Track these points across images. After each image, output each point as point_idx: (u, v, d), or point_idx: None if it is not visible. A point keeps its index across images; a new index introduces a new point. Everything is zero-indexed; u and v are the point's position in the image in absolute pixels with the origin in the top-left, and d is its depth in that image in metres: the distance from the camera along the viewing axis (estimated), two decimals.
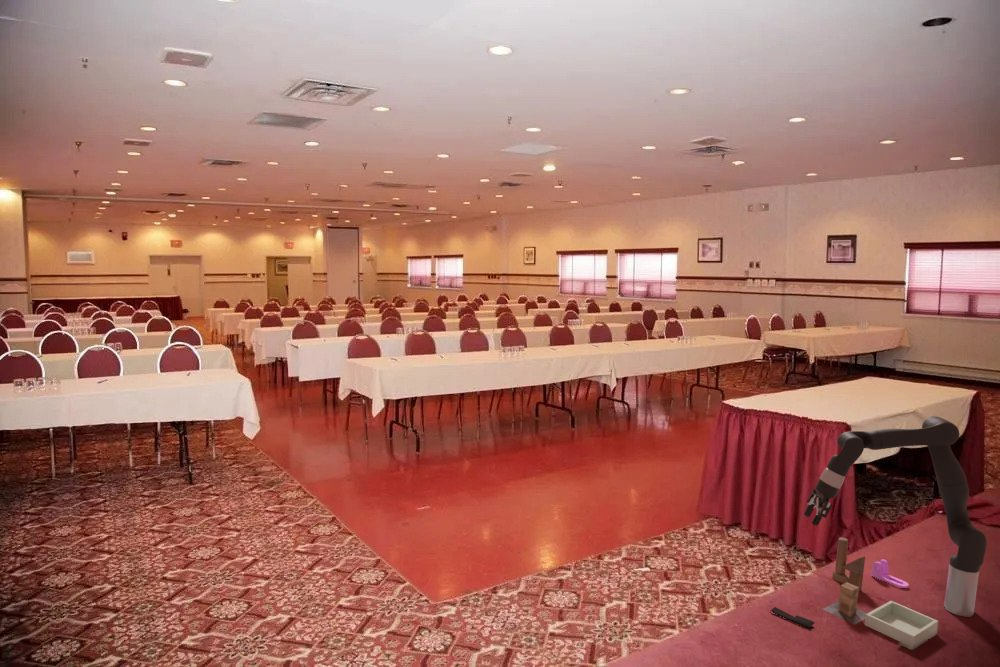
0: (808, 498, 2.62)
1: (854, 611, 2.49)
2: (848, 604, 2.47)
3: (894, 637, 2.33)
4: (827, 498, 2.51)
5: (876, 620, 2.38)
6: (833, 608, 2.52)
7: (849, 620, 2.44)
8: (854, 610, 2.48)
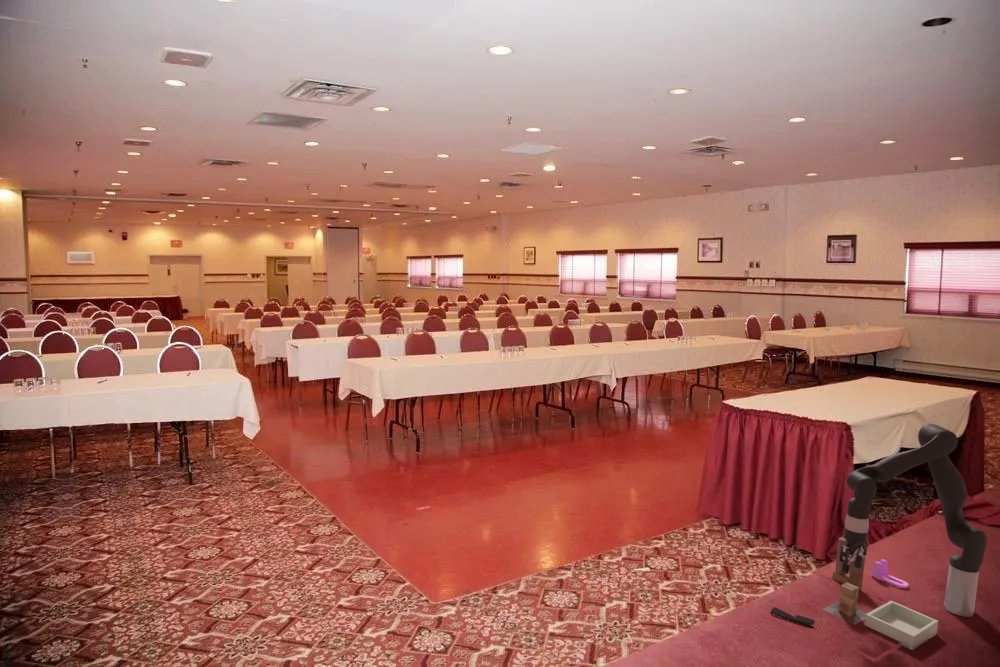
0: None
1: (854, 611, 2.49)
2: (848, 604, 2.47)
3: (894, 637, 2.33)
4: (849, 543, 2.44)
5: (876, 620, 2.38)
6: (833, 608, 2.52)
7: (849, 620, 2.44)
8: (854, 610, 2.48)
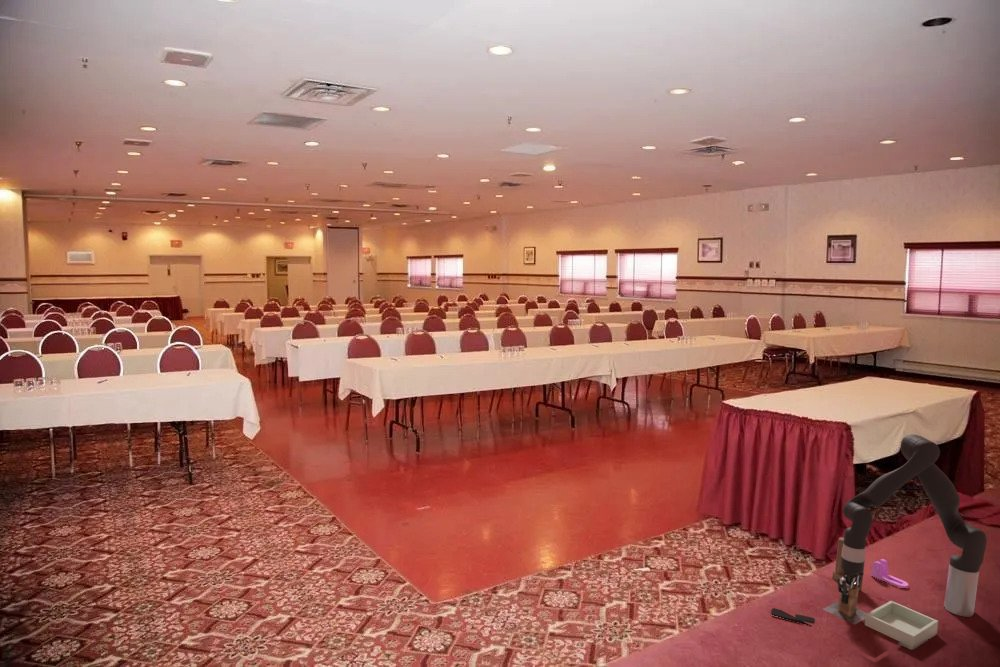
0: None
1: (854, 611, 2.49)
2: (848, 604, 2.47)
3: (894, 637, 2.33)
4: (846, 573, 2.46)
5: (876, 620, 2.38)
6: (833, 608, 2.52)
7: (849, 620, 2.44)
8: (854, 610, 2.48)
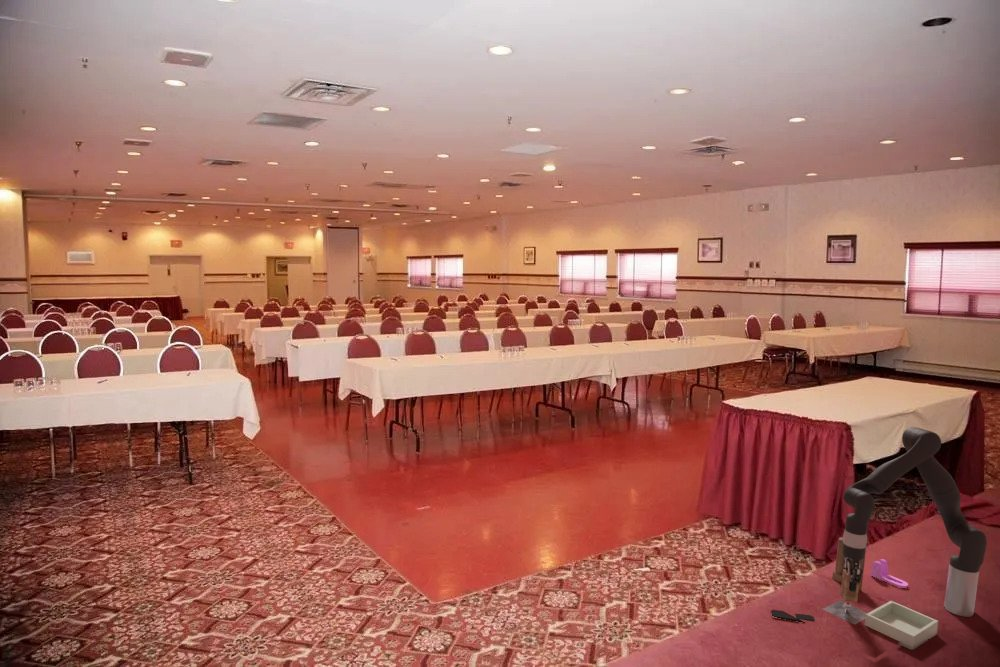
0: (843, 565, 2.53)
1: None
2: (855, 591, 2.46)
3: (894, 637, 2.33)
4: (856, 561, 2.43)
5: (876, 620, 2.38)
6: (833, 608, 2.52)
7: (849, 620, 2.44)
8: None
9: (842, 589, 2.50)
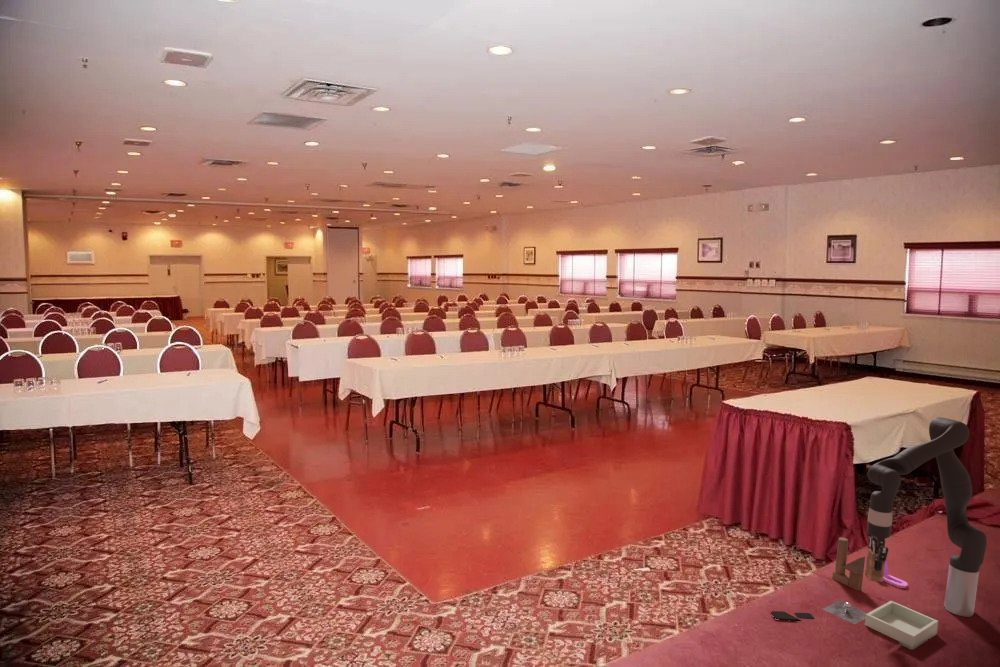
0: (868, 544, 2.48)
1: None
2: (881, 570, 2.41)
3: (894, 637, 2.33)
4: (882, 540, 2.38)
5: (876, 620, 2.38)
6: (833, 608, 2.52)
7: (849, 620, 2.44)
8: None
9: (867, 568, 2.45)
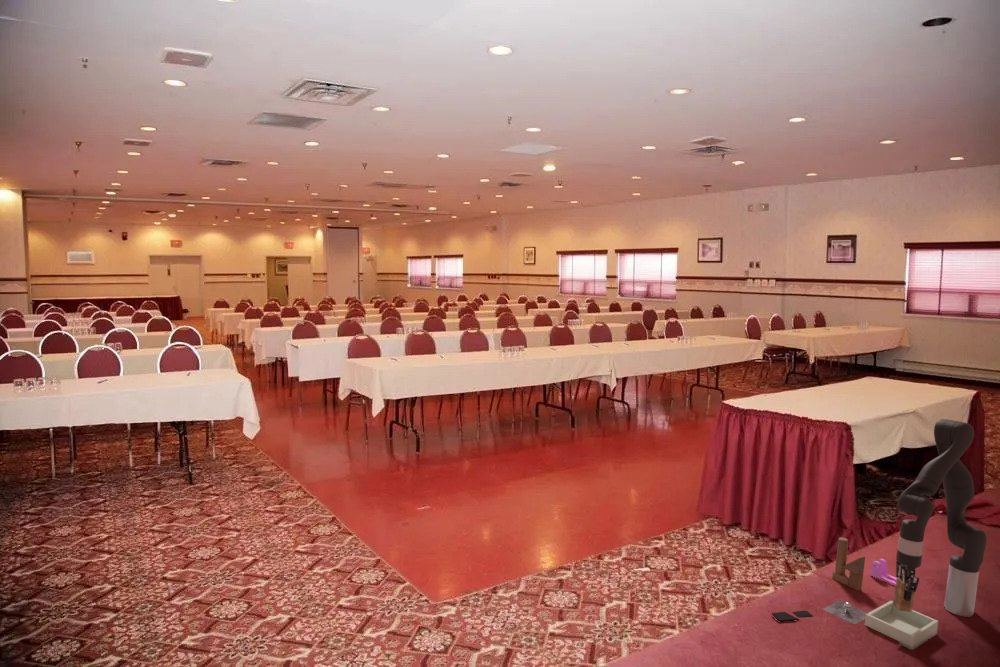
0: (896, 573, 2.43)
1: None
2: None
3: (894, 637, 2.33)
4: (912, 569, 2.34)
5: (876, 620, 2.38)
6: (833, 608, 2.52)
7: (849, 620, 2.44)
8: None
9: (895, 597, 2.40)
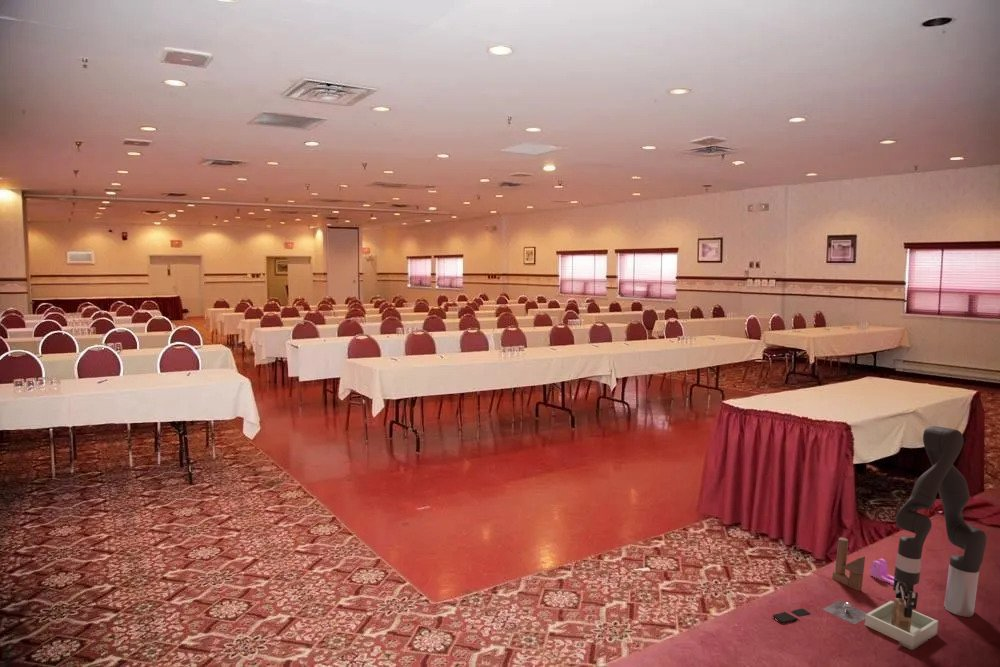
0: (893, 585, 2.45)
1: None
2: (908, 620, 2.37)
3: (894, 637, 2.33)
4: (910, 586, 2.34)
5: (876, 620, 2.38)
6: (833, 608, 2.52)
7: (849, 620, 2.44)
8: None
9: (893, 618, 2.41)
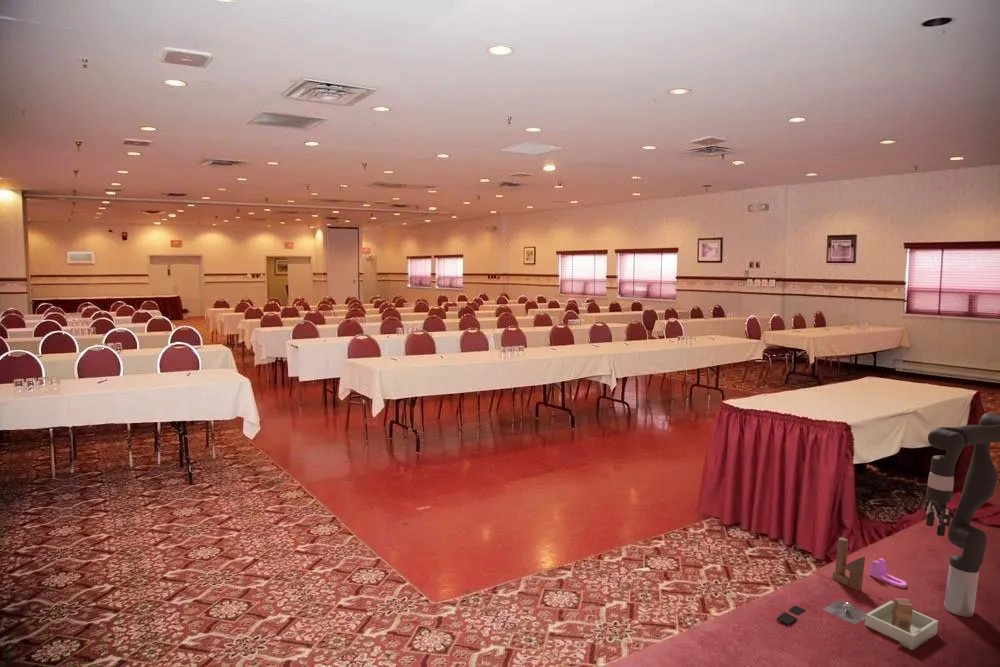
0: (924, 506, 2.45)
1: None
2: (908, 620, 2.37)
3: (894, 637, 2.33)
4: (943, 504, 2.34)
5: (876, 620, 2.38)
6: (833, 608, 2.52)
7: (849, 620, 2.44)
8: None
9: (893, 618, 2.41)
